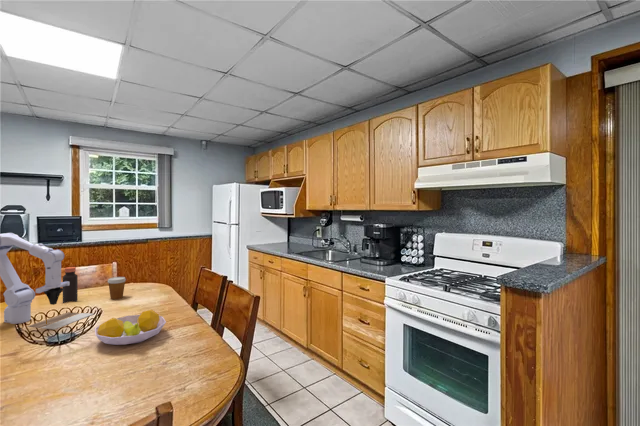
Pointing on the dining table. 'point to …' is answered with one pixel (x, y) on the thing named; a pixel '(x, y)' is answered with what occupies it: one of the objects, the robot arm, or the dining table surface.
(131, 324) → the fruit bowl
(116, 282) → the disposable coffee cup
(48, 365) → the dining table surface
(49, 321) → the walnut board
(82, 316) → the grey plank
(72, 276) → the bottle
